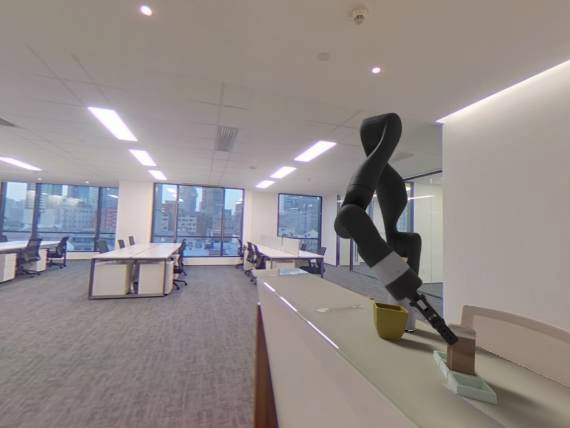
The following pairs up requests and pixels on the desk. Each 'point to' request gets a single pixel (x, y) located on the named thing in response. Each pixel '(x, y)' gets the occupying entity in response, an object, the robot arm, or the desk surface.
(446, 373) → the tray
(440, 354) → the tray
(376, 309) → the flower pot
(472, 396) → the tray
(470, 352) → the brown wooden block
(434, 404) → the desk surface
